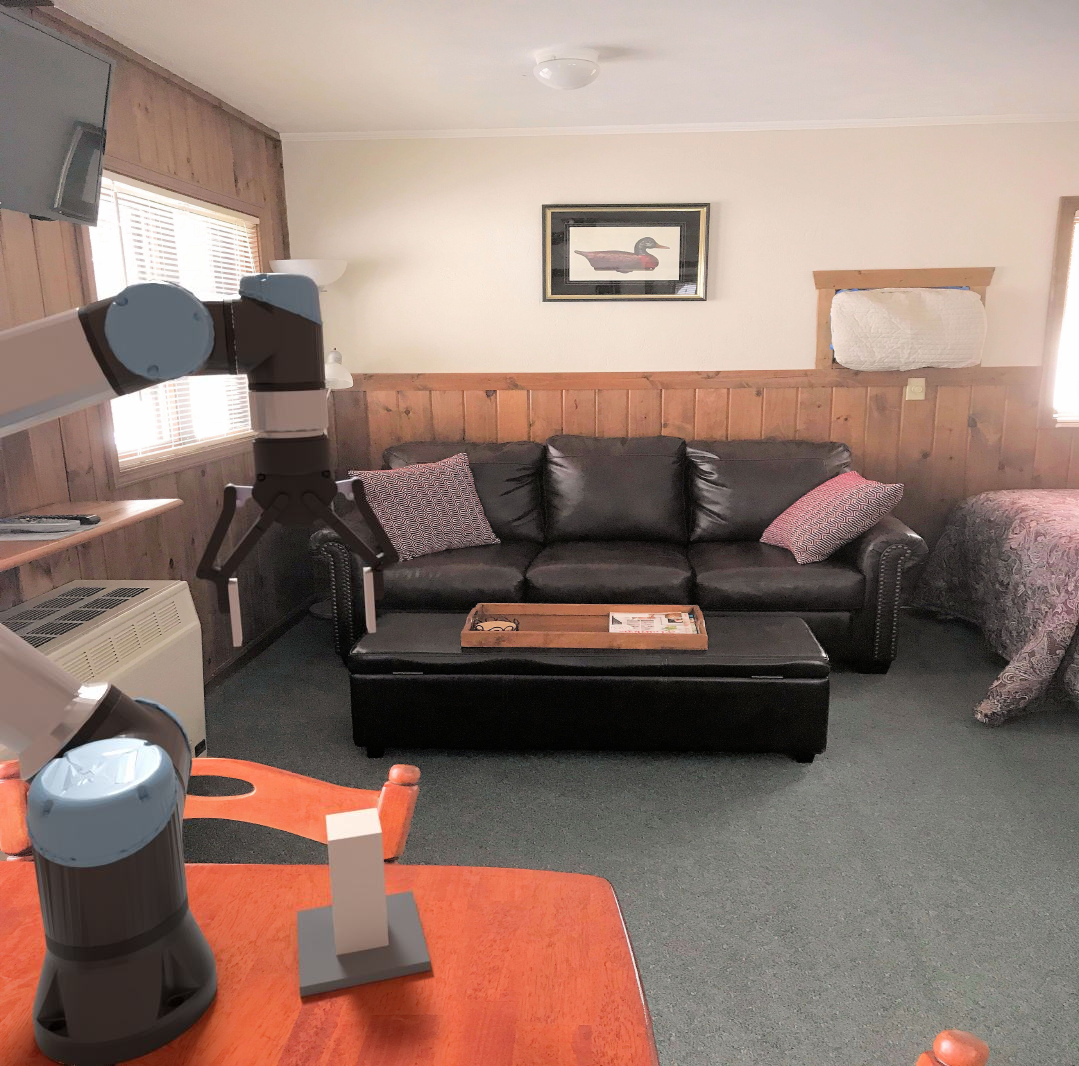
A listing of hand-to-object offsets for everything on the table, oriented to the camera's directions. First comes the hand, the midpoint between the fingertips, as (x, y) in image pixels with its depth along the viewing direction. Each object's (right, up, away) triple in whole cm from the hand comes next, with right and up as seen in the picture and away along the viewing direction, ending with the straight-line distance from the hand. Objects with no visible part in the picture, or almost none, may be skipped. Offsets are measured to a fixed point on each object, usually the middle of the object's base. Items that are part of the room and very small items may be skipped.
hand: (306, 636), depth 94 cm
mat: (+7, -30, -5) cm, 31 cm away
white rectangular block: (+7, -29, -5) cm, 30 cm away
